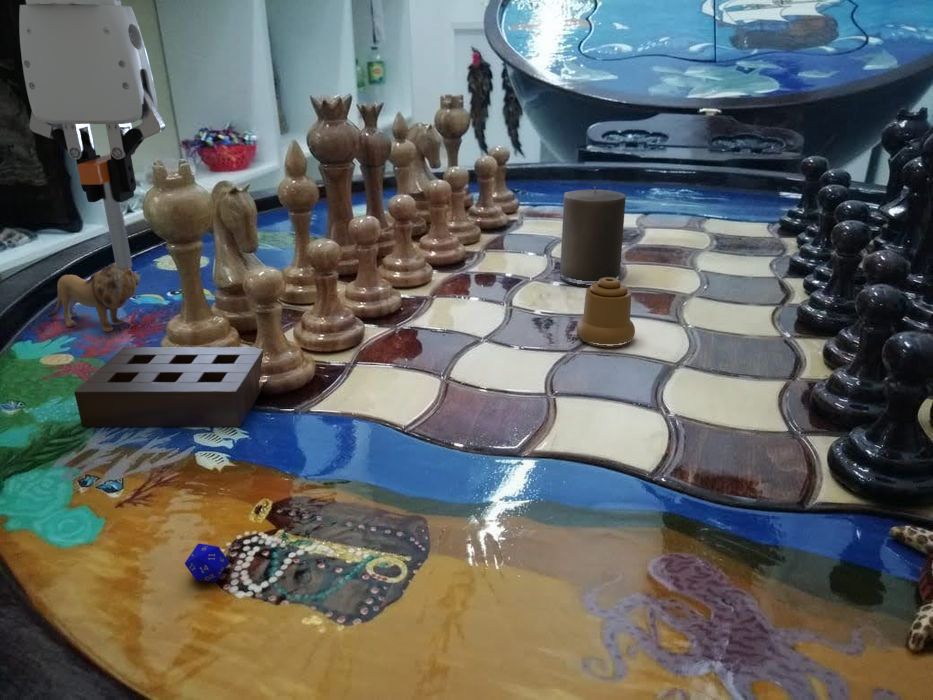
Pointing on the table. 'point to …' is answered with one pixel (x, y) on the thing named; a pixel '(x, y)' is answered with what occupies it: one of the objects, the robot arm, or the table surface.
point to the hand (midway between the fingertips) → (111, 198)
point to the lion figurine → (97, 294)
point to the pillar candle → (592, 235)
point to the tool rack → (172, 387)
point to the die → (206, 562)
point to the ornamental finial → (606, 314)
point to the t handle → (108, 207)
